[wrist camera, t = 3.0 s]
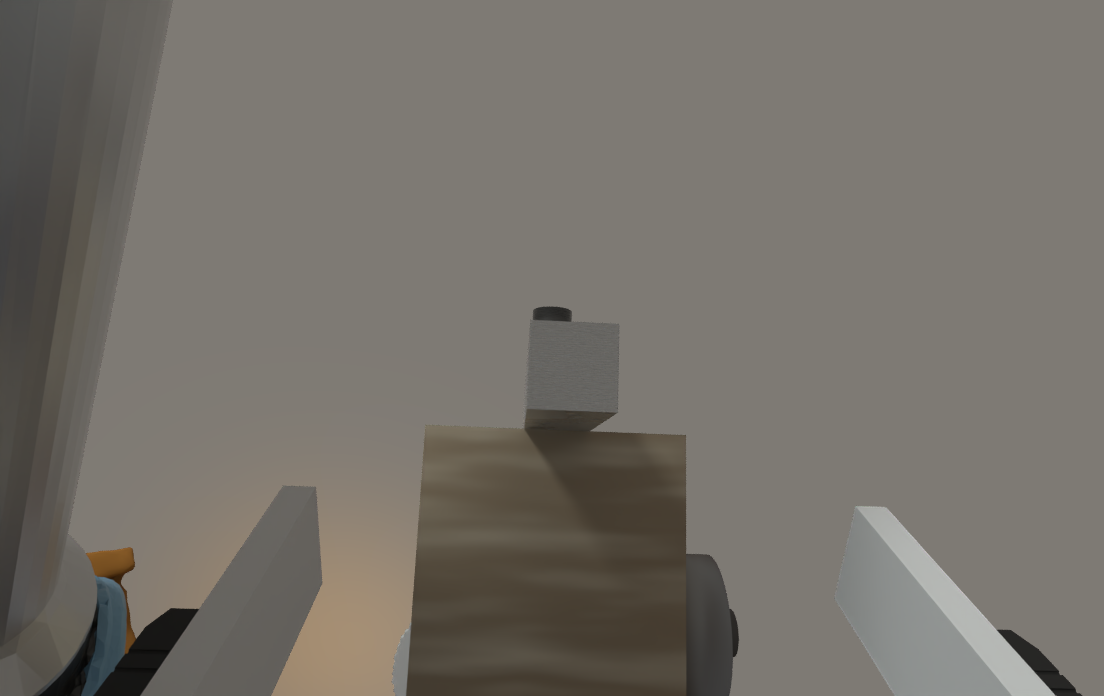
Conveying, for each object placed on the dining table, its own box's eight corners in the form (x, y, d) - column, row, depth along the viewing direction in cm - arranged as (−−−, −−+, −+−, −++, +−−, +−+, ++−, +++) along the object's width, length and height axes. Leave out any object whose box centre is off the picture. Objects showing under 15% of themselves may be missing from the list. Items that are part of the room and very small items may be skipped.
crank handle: (617, 412, 22) (621, 185, 24) (526, 408, 22) (536, 181, 24) (570, 443, 42) (574, 318, 43) (522, 441, 42) (528, 316, 43)
